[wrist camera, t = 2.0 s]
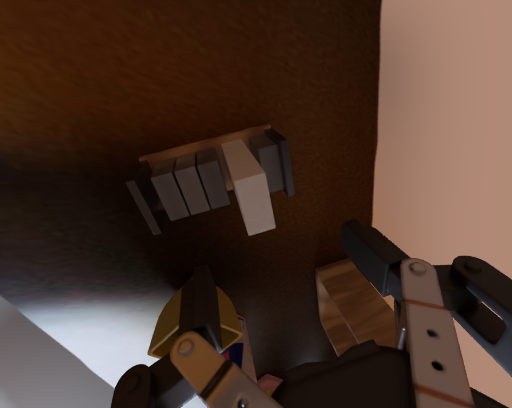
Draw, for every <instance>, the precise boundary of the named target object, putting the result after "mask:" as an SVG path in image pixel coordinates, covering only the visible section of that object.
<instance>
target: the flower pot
mask: <svg viewBox="0 0 512 408" xmlns="http://www.w3.org/2000/svg"><path fill="white" fill-rule="evenodd" d="M191 279H193V277H192V278H191ZM216 288H217V293H218V303H219V314H220V325H221V335H222V346H223V351H224V350H225V349H227V348H228V347H229V346H231V345H232V344H233V343H234V342H236V341H237V340H238V339H239V338H240V337H241V336H242V335H243V332H242V329H241V326H240V323H239V320H238V317H237V314H236V311H235V308H234V306H233V304H232V302H231V300H230V299H229V297H228V296H227V295H226V294H225V293H224V292H223V291H222V290H221V289H220V288H219V287H217V286H216ZM181 289H182V287H181V288H180V289H179V290H178V291H177V292H176V293H175V294H174V295H173V297H172V298H171V299H170V300H169V301H168V303H167V304H166V305H165V307H164V309H163V310H162V312H161V314H160V316H159V318H158V321H157V324H156V327H155V330H154V333H153V337H152V340H151V343H150V346H149V350H148V355H149V356H152V357H155V358H159V359H161V358H163V357H164V356H165V355H166V354H167V353H169V351H170V350H171V347H172V345H173V343H174V342H175V340H176V339H177V337H178V329H179V316H180V307H181V306H180V303H181ZM220 354H221V353H220Z"/></svg>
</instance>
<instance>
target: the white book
mask: <svg viewBox="0 0 512 408" xmlns="http://www.w3.org/2000/svg"><path fill="white" fill-rule="evenodd" d="M221 146H222V150H223V153H224V157H225V160H226V164H227V168H228V171H229V175H230V178H231V182H232V185H233V188H234V191H235V195H236V198H237V201H238V204H239V207H240V210H241V213H242V217H243V220H244V223H245V226H246V229H247V232H248V235H249V236H250V235H254V234H257V233H260V232H264V231H267V230H270V229H274V228H276V226H275V221H274V216H273V211H272V206H271V200H270V195H269V190H268V185H267V180H266V174H265V172H264V170H263V169H262V168H261V166H260V165H259V163H258V162H257V160H256V159H255V158H254V156H253V155H252V153H251V152H250V151H249V149H248V148H247V146H246V145H245V144H244V142H243V141H242V139H238V140H235V141H231V142H227V143H223V144H221Z"/></svg>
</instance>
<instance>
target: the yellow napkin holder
mask: <svg viewBox="0 0 512 408" xmlns="http://www.w3.org/2000/svg"><path fill="white" fill-rule="evenodd" d="M282 381H283V379H280V378H278V377H275V376H272V375H269V374H266V375H264V376H263V377H262V378H260V379H259V380H258V381H257V384H258V385H259V386H260V387H261V388H262V389H263V390H264V391H266V392H267V393H268V394H269V395H270V396H271V395H272V393H273V391H274V390H275V389H276V387H277V386H278V385H279V384H280V383H281V382H282Z"/></svg>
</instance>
